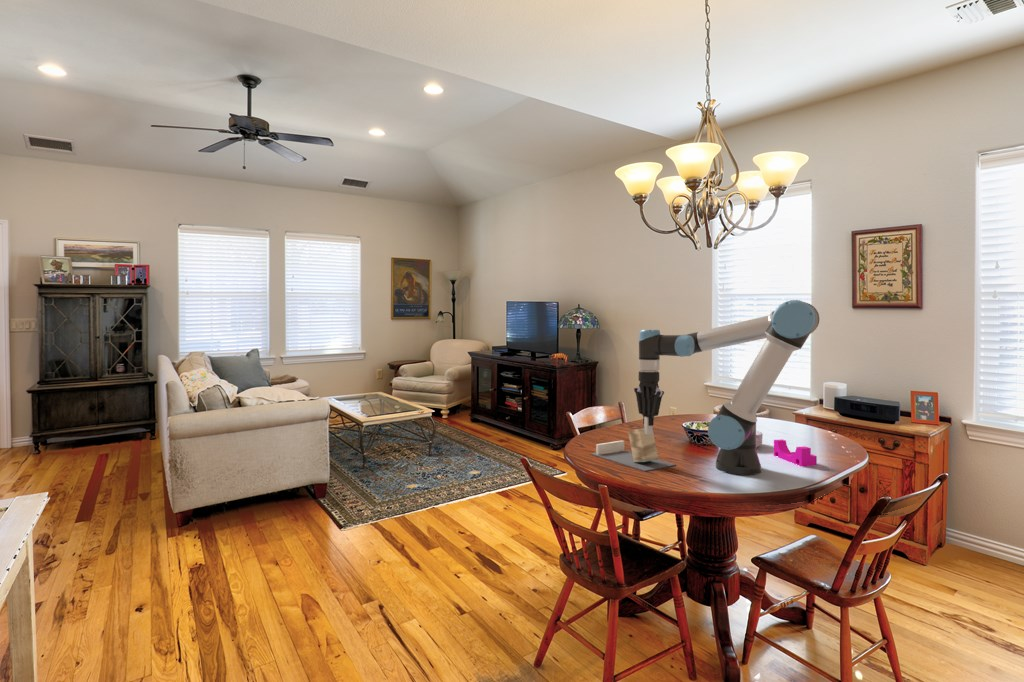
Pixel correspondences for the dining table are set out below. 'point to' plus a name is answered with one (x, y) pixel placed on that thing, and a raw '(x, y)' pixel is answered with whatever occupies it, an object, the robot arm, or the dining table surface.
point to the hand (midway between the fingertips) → (648, 433)
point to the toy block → (794, 454)
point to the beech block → (642, 446)
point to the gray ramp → (627, 460)
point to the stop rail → (609, 447)
